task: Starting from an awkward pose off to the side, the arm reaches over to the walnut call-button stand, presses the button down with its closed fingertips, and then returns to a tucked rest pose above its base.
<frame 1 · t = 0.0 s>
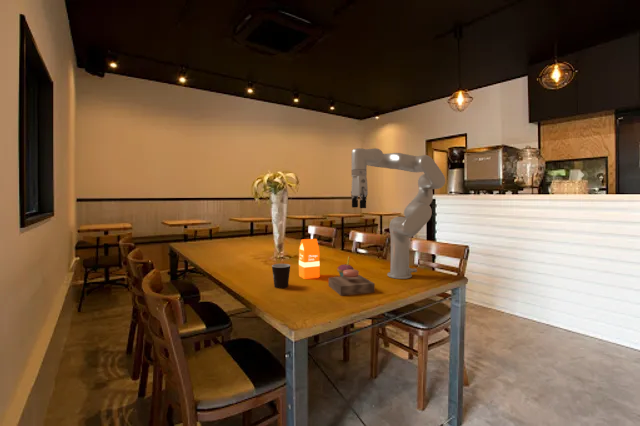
hand: (358, 207, 164), 37 cm above the table, tool pointing down, fingers open, 9 cm apart
orange juice: (309, 276, 173), on the table
cupcake: (345, 278, 169), on the table
button stand: (350, 288, 149), on the table
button: (350, 273, 149), point 7 cm above the table, slide at 0.0 cm
coffee mug: (282, 286, 155), on the table
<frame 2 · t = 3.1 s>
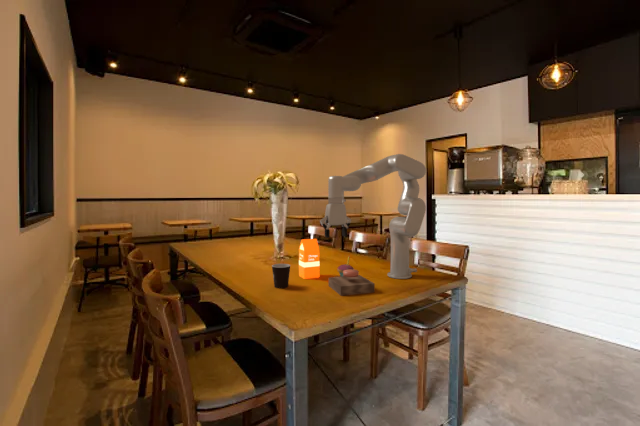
hand: (335, 236, 158), 23 cm above the table, tool pointing down, fingers open, 9 cm apart
nothing on the table moved.
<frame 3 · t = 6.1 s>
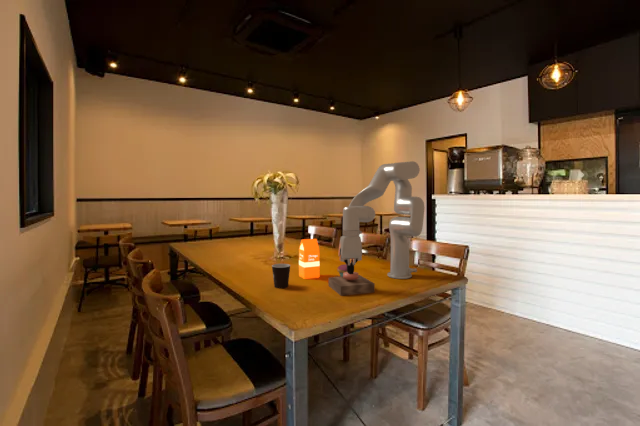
hand: (350, 273, 149), 7 cm above the table, tool pointing down, fingers closed
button: (350, 275, 149), point 6 cm above the table, slide at 1.1 cm, touching gripper
everything else where it was.
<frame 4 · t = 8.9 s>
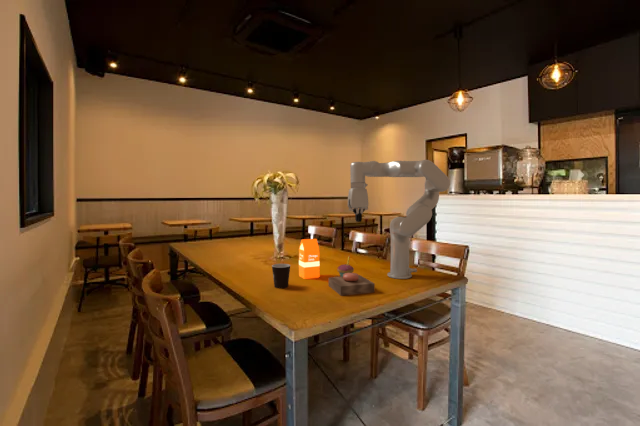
hand: (358, 221, 168), 29 cm above the table, tool pointing down, fingers closed
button: (350, 276, 149), point 6 cm above the table, slide at 1.6 cm
everything else where it was.
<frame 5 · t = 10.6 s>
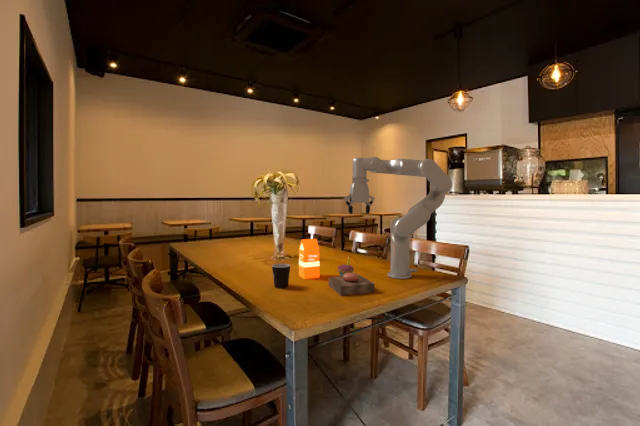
hand: (359, 213, 173), 33 cm above the table, tool pointing down, fingers open, 9 cm apart
nothing on the table moved.
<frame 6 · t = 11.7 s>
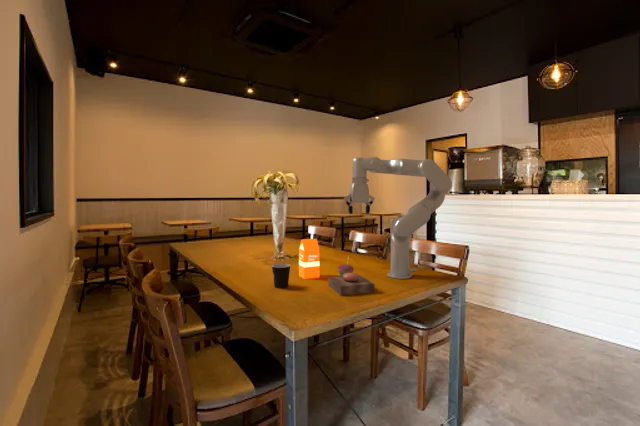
hand: (359, 213, 173), 33 cm above the table, tool pointing down, fingers open, 9 cm apart
nothing on the table moved.
at the end: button slide at 1.6 cm; cupcake moved 0.2 cm from its start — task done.
